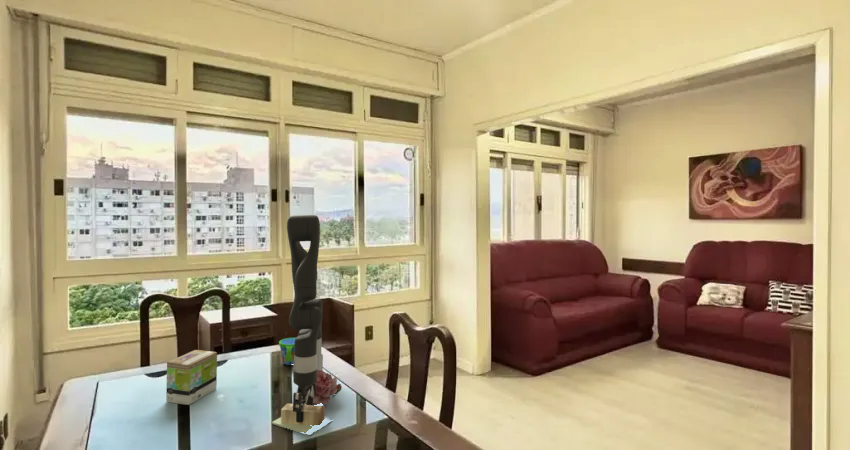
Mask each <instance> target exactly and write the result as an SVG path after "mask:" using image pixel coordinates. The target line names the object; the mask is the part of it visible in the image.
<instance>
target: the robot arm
mask: <svg viewBox="0 0 850 450" xmlns="http://www.w3.org/2000/svg"><path fill="white" fill-rule="evenodd" d="M286 232H287V239H288V243H289V244H288V245H289V250H290V258H291V259H290V261H291V274H292V275H291V276H292V283H293V284H292V285H293V292H294V297H293V302H292V307H291V310H290V313H289V315H288V325H289V327H290V328H291V329H292V330H295V331H296V330H299V331H298V333H297V336H296V337H295V338H296V339H295V345H294V365H292V366H293V377H292V378H293V380H292V381H293V384H295V385H296V386H297V389H296V392H293V394H292V395H293V396H292V398H293V399H292V404H293V412H296V422H298V423H302V422H303V421H304V411H303V410H304V406H305V405H313V399H314V395H316V381H317V370H322V371H324V369H323V368H324V365H323V364H324V360H323V359H324V358H323V357H324V355H323V354H322V344H323V343H322V340H323V339H322V338H323V335H322V330H323V329H322V327H323V324H322V323H323V316H324V314H323V312H324V311H323V307H324V306H323V305H324V304H323V301H322V299H321V298H317V281H318V260H319V249H320V241H321V239H320V237H321V224H320V218H319V217H318V215H316V214H295V215H290V216H289V217H288V219H287V220H286ZM301 242H310V243H309V248H308V250H306V248H304V247H303V246H302V244H301ZM313 389H314V390H313ZM302 400H304V401H302ZM298 406H299V407H298Z"/></svg>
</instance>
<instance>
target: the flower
mask: <svg viewBox="0 0 850 450" xmlns="http://www.w3.org/2000/svg"><path fill="white" fill-rule="evenodd" d="M342 389H343V387H342V384H341V383H338V378H337V377H336V376H334V377H332V375H331V373H328V372H326V371H324V370H323V371H322V370H317V381H316V395H314V399H313V405H317V404H320V403H322V404H323V405H324V406H326V404H328V403H329V402H330V400H331V398H332V397H331V396H334V394H336V395H337V394H338V393H339V392H340V391H342ZM313 390H314V389H313ZM302 401H304V400H302Z"/></svg>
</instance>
